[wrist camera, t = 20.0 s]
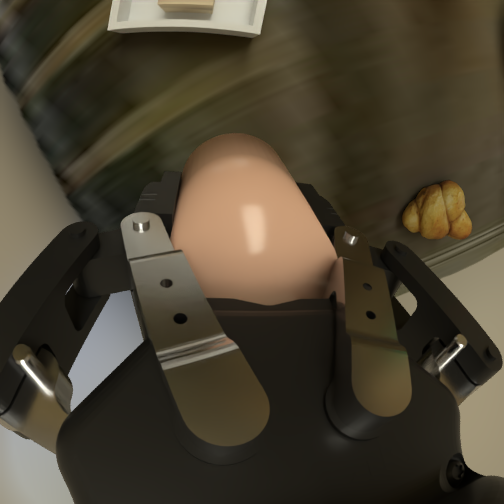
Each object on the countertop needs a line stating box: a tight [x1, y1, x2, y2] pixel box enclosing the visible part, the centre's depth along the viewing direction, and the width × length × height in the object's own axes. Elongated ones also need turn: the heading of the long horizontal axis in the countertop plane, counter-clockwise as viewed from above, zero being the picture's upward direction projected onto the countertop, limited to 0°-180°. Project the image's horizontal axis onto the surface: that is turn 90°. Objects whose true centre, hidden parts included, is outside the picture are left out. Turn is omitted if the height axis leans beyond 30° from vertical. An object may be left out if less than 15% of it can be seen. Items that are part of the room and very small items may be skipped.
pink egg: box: [170, 133, 338, 305], centre depth 11 cm, size 5×5×7 cm
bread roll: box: [402, 180, 472, 240], centre depth 38 cm, size 13×10×8 cm
